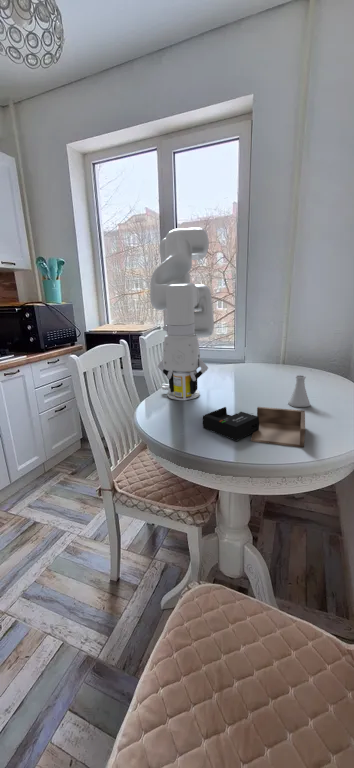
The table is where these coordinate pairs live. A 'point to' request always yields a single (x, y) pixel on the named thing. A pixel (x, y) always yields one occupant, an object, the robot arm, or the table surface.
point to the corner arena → (280, 426)
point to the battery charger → (231, 423)
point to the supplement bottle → (182, 385)
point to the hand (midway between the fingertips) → (183, 391)
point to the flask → (299, 393)
